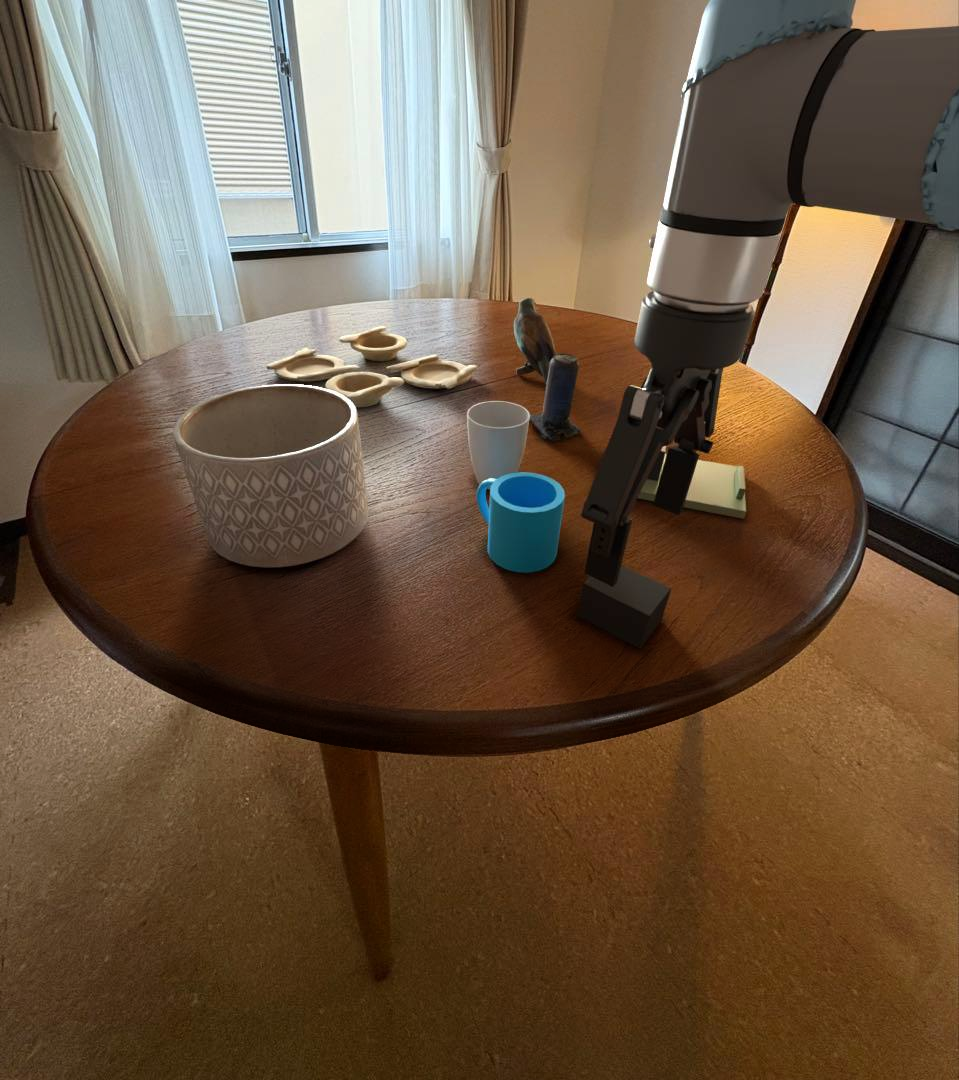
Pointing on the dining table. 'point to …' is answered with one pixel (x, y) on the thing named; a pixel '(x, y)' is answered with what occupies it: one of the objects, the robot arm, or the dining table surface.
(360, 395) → the tableware set
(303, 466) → the planter
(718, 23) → the robot arm
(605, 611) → the dark grey block
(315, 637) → the dining table surface
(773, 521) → the dining table surface
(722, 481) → the dock
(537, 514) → the mug
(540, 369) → the bird figurine
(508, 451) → the cup
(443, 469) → the dining table surface
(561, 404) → the dark cylinder on base
